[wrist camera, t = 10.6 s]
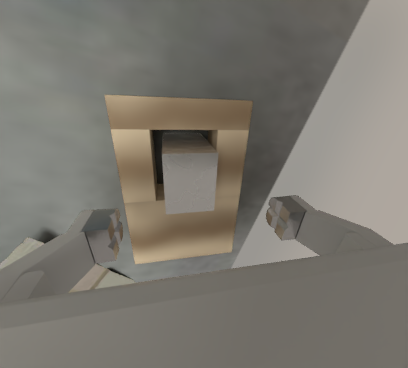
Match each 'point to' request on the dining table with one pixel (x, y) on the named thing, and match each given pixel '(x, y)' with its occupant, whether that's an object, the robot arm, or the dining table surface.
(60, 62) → the dining table surface
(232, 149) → the oak well block
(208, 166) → the metal bracket bar
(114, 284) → the beige slotted box
